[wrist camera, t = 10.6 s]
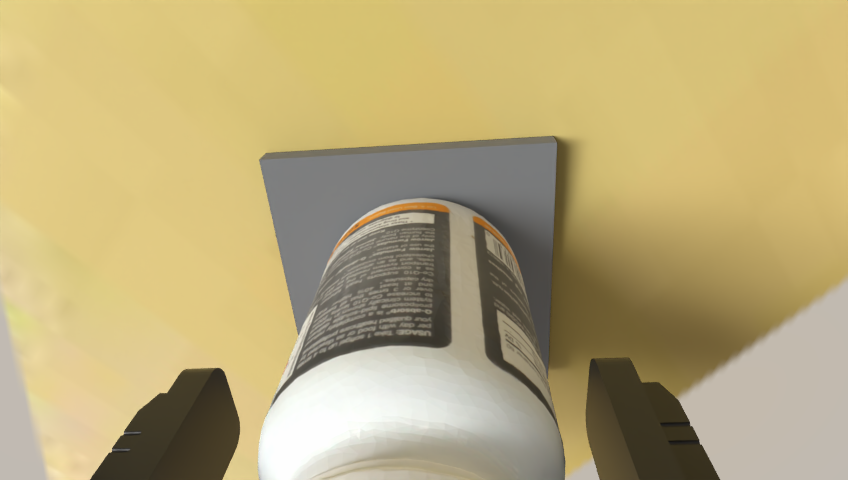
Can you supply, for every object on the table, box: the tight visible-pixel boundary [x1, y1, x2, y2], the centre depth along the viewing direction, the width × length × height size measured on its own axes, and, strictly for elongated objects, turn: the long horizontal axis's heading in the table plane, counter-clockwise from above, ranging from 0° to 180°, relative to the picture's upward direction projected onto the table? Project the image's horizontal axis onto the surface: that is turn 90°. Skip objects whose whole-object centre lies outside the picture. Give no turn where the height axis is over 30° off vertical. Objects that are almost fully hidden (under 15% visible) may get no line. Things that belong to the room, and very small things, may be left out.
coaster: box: [259, 136, 557, 379], centre depth 16 cm, size 8×8×1 cm
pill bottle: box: [258, 198, 565, 480], centre depth 12 cm, size 6×6×10 cm
